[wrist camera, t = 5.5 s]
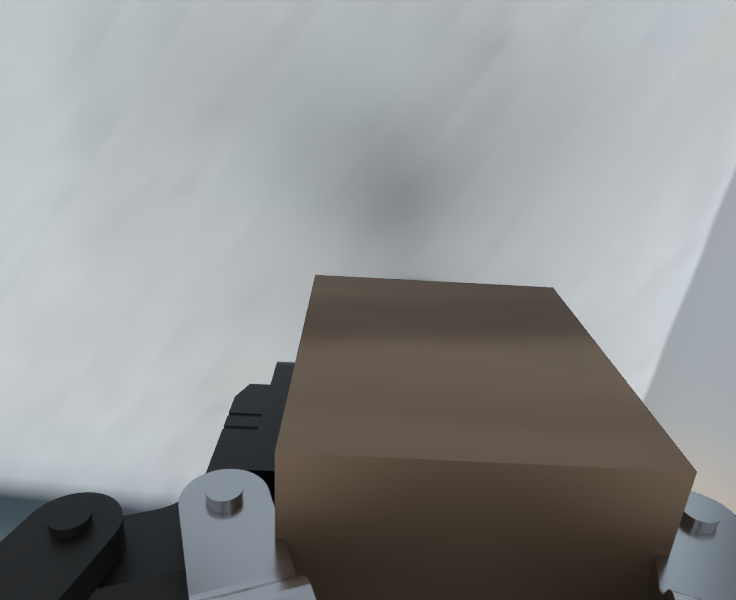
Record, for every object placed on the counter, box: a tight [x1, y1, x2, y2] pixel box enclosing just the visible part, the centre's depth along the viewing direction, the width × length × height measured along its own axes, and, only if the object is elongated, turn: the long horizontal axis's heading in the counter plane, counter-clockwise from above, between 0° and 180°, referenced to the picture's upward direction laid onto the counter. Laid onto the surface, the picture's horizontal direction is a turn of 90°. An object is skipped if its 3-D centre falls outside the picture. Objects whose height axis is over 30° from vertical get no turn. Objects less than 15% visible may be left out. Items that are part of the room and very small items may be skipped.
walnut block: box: [275, 275, 697, 600], centre depth 11 cm, size 5×5×6 cm
